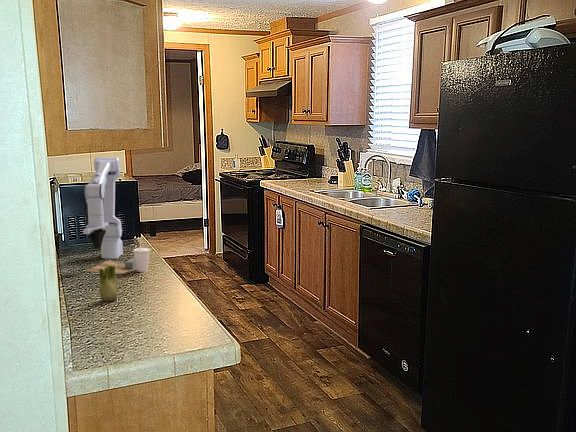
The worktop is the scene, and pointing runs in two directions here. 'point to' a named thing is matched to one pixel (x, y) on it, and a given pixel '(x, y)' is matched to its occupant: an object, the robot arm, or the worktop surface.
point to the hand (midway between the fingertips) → (97, 248)
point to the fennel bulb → (108, 283)
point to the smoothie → (141, 258)
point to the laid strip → (122, 269)
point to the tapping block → (130, 263)
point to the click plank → (104, 265)
